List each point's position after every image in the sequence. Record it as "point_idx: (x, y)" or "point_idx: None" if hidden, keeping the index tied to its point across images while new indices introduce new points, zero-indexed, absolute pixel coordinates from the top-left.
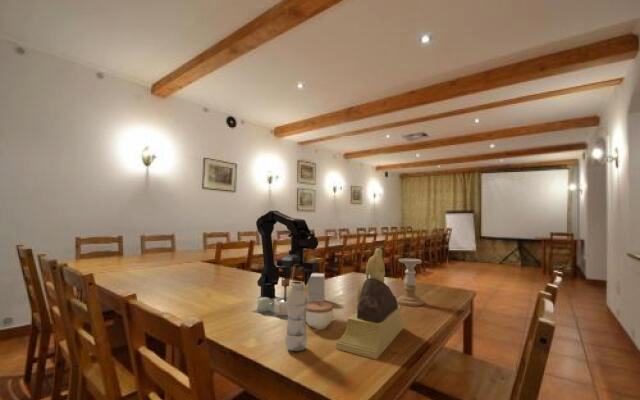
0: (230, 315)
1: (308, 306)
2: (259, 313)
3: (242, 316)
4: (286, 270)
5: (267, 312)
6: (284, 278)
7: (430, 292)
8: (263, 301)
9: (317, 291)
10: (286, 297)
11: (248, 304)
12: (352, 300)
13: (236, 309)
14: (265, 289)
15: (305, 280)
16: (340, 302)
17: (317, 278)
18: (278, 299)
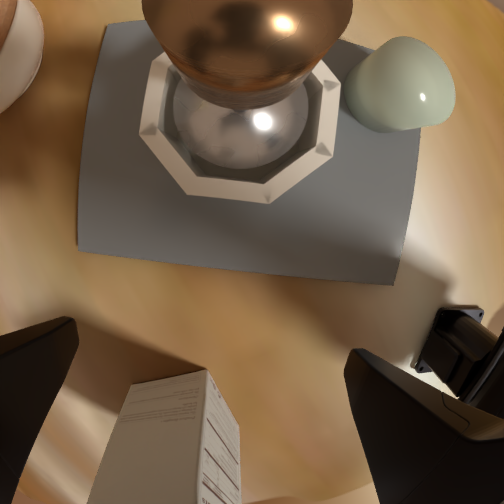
0: (460, 33)
1: None
2: (369, 49)
3: (417, 23)
4: (458, 460)
5: (340, 76)
6: (297, 2)
7: (18, 489)
8: (390, 39)
9: (142, 428)
10: (271, 181)
11: (490, 206)
12: (77, 444)
13: (492, 115)
14: (485, 338)
15: (21, 333)
16: (90, 419)
17: (124, 500)
18: (318, 114)
